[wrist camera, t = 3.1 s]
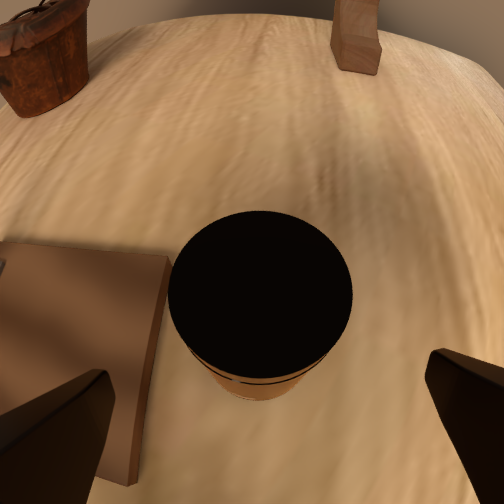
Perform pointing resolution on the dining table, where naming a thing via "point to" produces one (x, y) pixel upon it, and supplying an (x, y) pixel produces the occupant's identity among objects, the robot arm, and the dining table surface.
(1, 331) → the shelf board
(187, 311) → the supplement container
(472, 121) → the dining table surface
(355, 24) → the decorative block
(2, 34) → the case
